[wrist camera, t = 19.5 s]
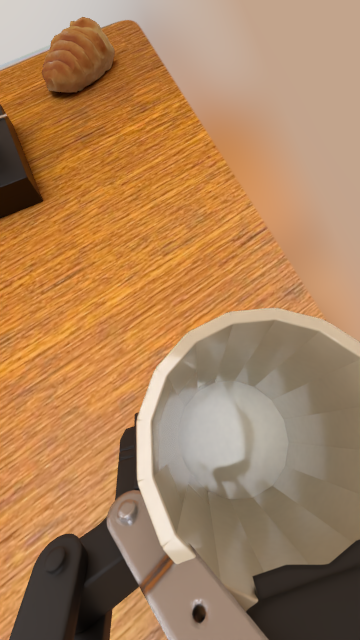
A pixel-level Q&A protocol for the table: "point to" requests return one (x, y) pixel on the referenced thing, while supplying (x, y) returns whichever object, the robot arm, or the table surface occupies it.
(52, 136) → the table surface
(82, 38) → the pastry
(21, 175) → the hob
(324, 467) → the cup
